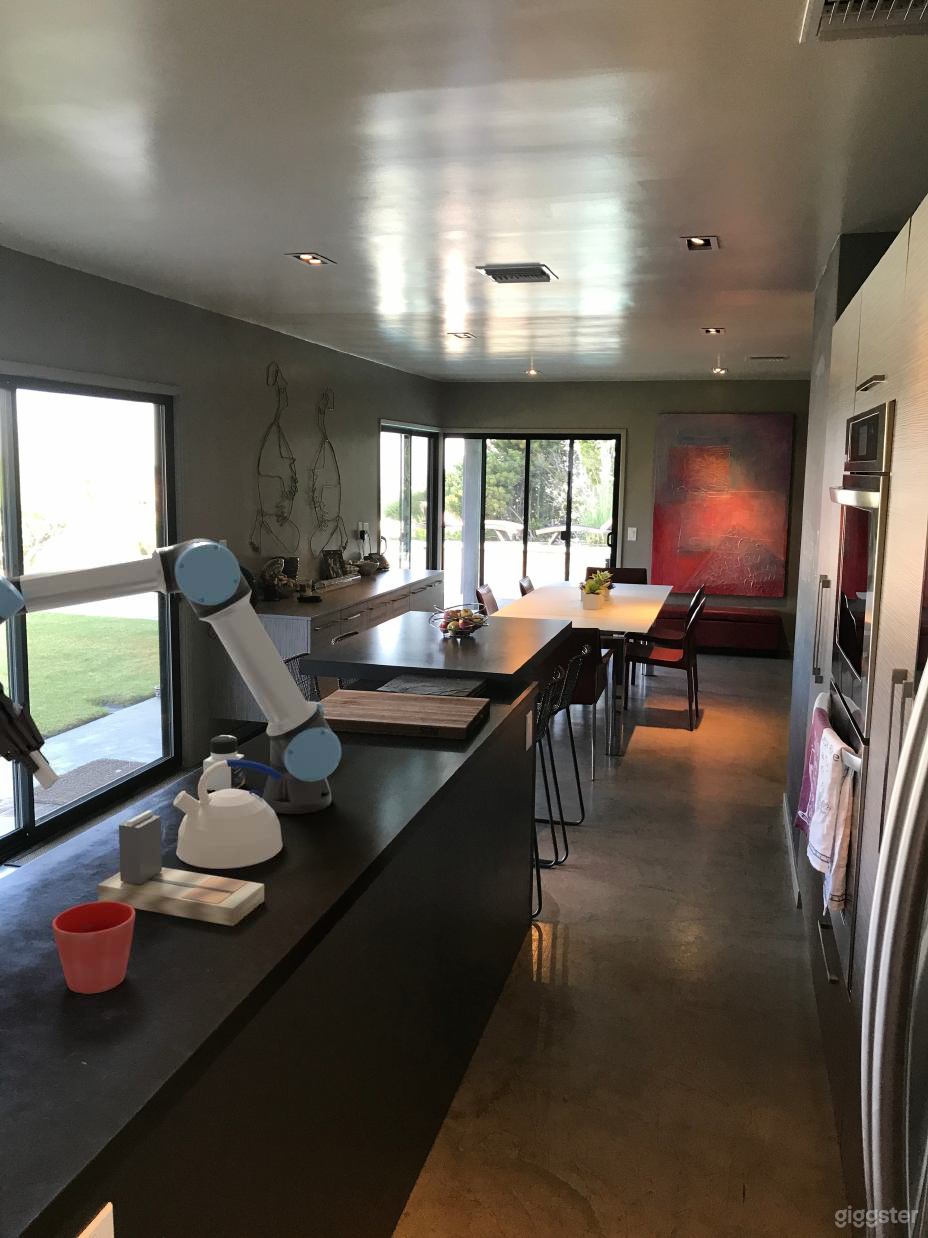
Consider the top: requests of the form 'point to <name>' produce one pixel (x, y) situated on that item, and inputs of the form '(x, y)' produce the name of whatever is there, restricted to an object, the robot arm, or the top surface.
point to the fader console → (187, 895)
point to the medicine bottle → (226, 776)
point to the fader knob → (140, 848)
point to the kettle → (227, 824)
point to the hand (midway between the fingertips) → (52, 784)
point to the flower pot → (94, 944)
